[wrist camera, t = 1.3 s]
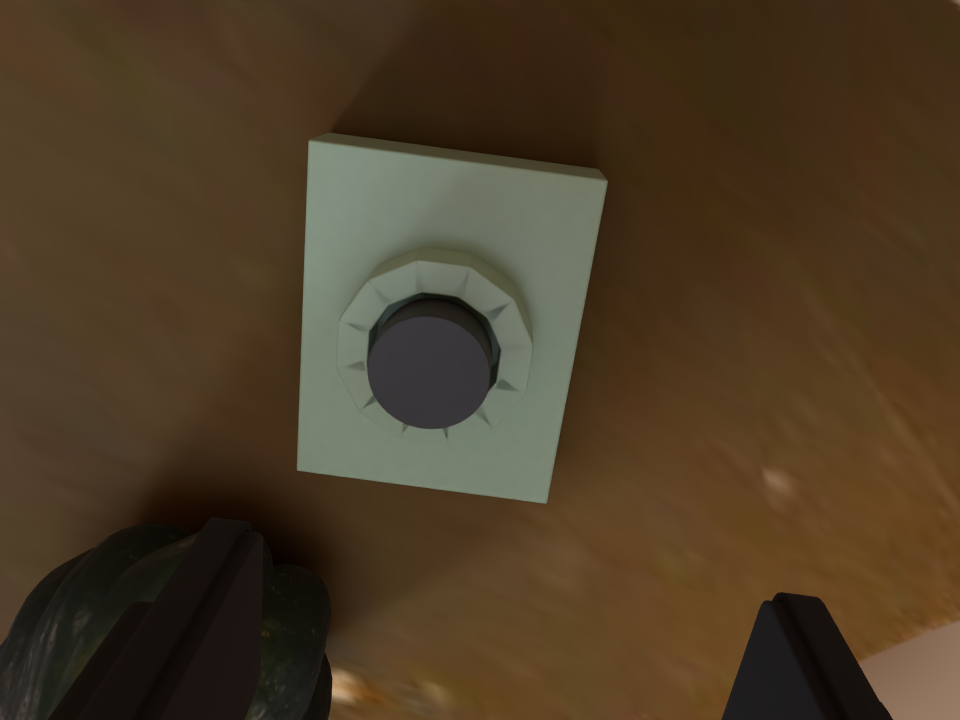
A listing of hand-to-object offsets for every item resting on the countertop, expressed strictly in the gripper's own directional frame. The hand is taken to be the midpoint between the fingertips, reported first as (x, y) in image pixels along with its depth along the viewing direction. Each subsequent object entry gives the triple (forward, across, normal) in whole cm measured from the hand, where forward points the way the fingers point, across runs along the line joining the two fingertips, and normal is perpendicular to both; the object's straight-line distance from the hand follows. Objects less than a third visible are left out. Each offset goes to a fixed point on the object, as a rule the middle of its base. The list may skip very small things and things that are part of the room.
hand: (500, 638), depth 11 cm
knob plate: (+22, +2, +3) cm, 22 cm away
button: (+17, +3, +3) cm, 18 cm away
